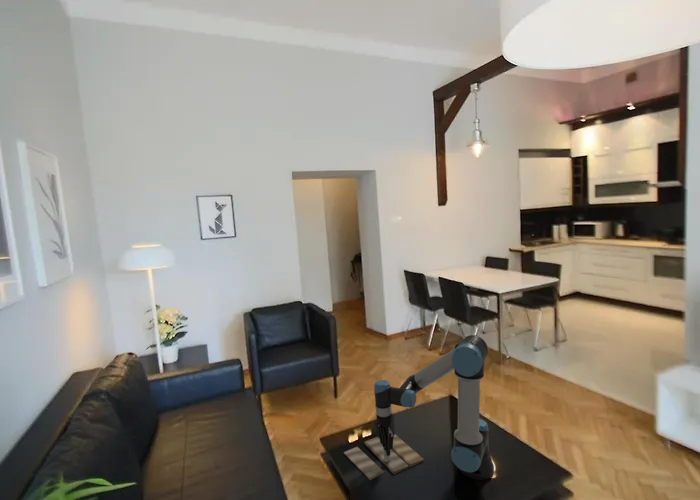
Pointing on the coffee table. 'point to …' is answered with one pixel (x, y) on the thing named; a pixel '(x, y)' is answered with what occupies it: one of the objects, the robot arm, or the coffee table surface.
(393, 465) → the board
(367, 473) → the plank
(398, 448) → the laid board
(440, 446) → the coffee table surface
